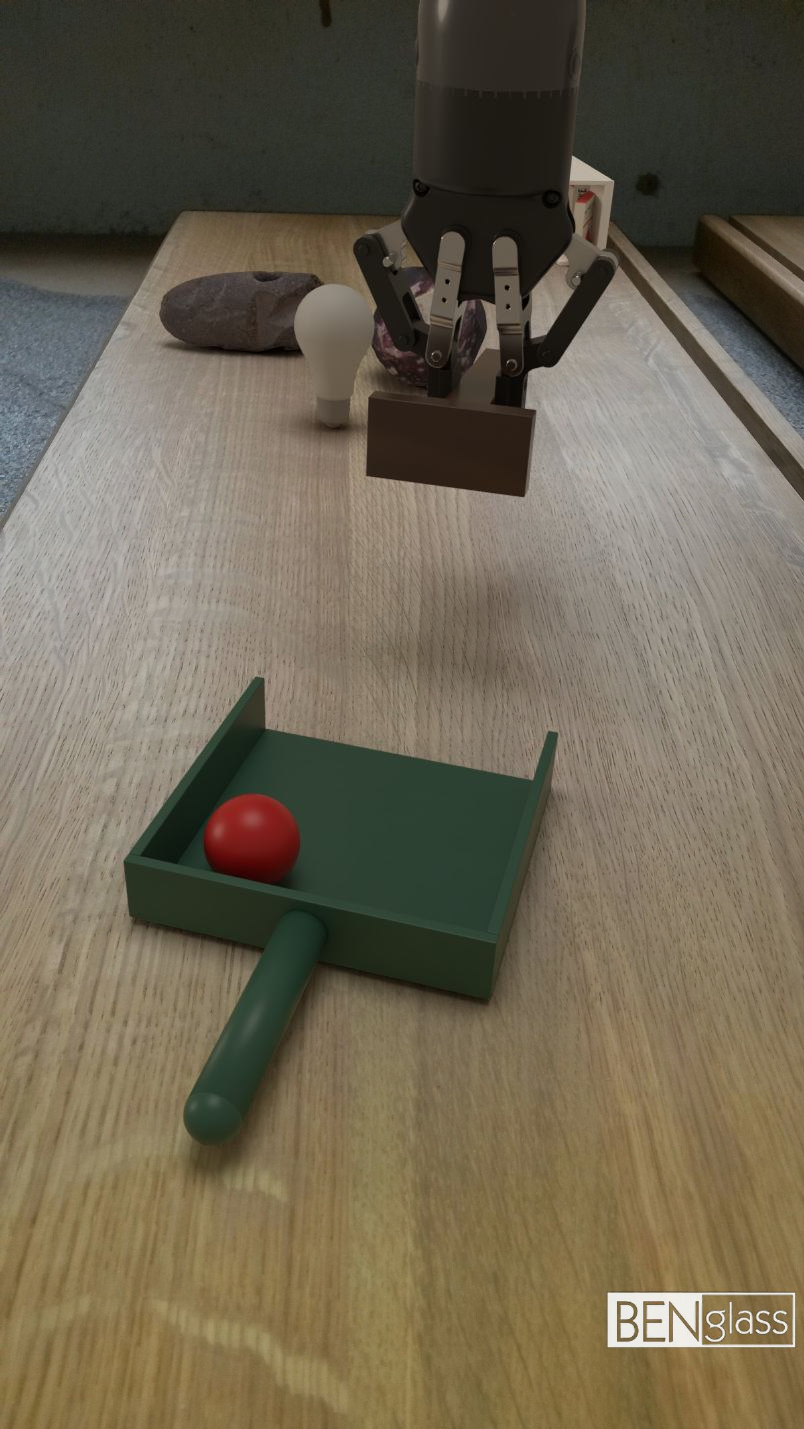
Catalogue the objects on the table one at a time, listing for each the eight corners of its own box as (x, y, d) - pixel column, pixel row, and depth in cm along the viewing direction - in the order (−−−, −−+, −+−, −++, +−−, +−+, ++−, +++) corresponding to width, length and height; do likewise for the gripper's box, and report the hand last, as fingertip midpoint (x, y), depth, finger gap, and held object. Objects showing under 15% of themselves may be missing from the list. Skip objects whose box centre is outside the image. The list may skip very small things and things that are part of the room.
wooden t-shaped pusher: (435, 393, 73) (439, 325, 71) (568, 408, 72) (576, 340, 69) (365, 476, 60) (368, 396, 58) (524, 498, 59) (532, 416, 57)
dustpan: (256, 731, 61) (255, 675, 59) (550, 788, 58) (558, 731, 57) (-1, 1117, 42) (-15, 1051, 40) (425, 1233, 39) (431, 1168, 37)
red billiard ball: (320, 794, 51) (238, 771, 52) (274, 826, 48) (187, 801, 49) (312, 879, 52) (232, 855, 54) (267, 917, 49) (182, 890, 50)
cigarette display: (518, 229, 160) (525, 151, 154) (559, 229, 161) (567, 152, 155) (562, 268, 143) (571, 182, 138) (607, 268, 144) (618, 183, 139)
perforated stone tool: (156, 352, 111) (150, 274, 107) (166, 335, 115) (162, 259, 111) (320, 361, 111) (321, 282, 107) (325, 344, 115) (326, 267, 111)
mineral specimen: (337, 365, 104) (363, 245, 102) (397, 385, 113) (422, 274, 111) (434, 387, 100) (464, 261, 97) (489, 405, 109) (517, 290, 107)
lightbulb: (282, 418, 98) (281, 278, 92) (351, 409, 101) (354, 272, 94) (313, 445, 94) (314, 299, 88) (384, 434, 96) (389, 292, 90)
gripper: (658, 73, 57) (611, 427, 67) (374, 55, 60) (368, 397, 70) (642, 93, 51) (593, 478, 61) (327, 71, 54) (328, 443, 64)
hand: (473, 433), depth 65 cm, fingers closed on wooden t-shaped pusher, 2 cm apart
